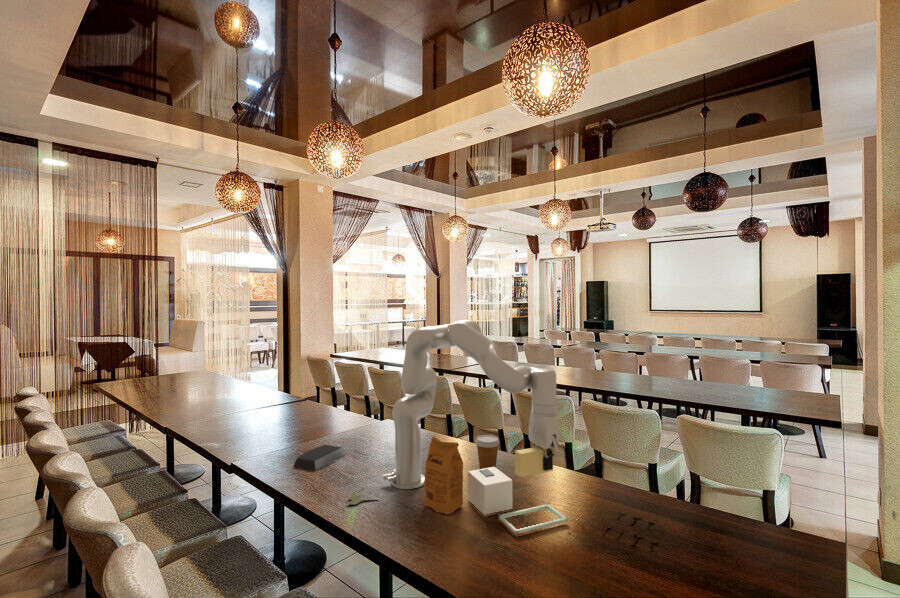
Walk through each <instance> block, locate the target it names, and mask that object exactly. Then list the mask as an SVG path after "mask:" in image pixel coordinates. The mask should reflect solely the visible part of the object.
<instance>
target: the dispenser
mask: <svg viewBox="0 0 900 598" xmlns="http://www.w3.org/2000/svg"><path fill="white" fill-rule="evenodd" d="M468 500H469V501H470V502H471V503H473V504H474V505H475V506H476V507H477V508H478V509H479V510H480V511H481V512H482V513H483V514H484V515H485V514H490V513H494V512H499V511H504V510H509V509H513V479H512V478H510V477H509V476H508V475H507V474H505V473H503V472H502V471H501V470H499V469H498V468H497V467H496V468H495V467H489V468H484V469H480V468H477V469H473V470H468V471H467V501H468ZM469 501H468V502H469ZM470 502H469V503H470ZM471 503H470V504H471Z"/></svg>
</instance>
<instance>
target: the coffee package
mask: <svg viewBox="0 0 900 598" xmlns="http://www.w3.org/2000/svg"><path fill="white" fill-rule="evenodd" d="M459 445H460V444H459V443H458V442H454V441H453V442H452V441H441V440H440V439H438V437H436V436H435V435H434V436H432V437H431V440H430V444H429V447H428V453H427V457H426V461H425V470H424V471H425V472H424V477H425V480H424V485H423V490H424V506H425V507H426V506H428V507H427V508H430V507H431V508H430V509H432V510H433V509H434V510H435V511H438V512H442V513H445V515H447V514H449V515H451V514H453V513H454V512H455V511H456V510H458V509H459V508H461V507H462V506H463V505H464V492H463V486H464V462H463V458H462V456H461V453H460V450H459ZM434 510H433V511H434ZM435 511H434V512H435ZM438 512H437V513H438ZM442 513H441V514H442ZM450 513H451V514H450Z"/></svg>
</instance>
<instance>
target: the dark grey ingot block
mask: <svg viewBox="0 0 900 598" xmlns="http://www.w3.org/2000/svg"><path fill="white" fill-rule="evenodd" d="M344 455H345V456H346V455H347V452H346V450H345V448H344V447H343V446H335V445H330V444H322V445H319V446H317V447H315V448H313V449H309V450H307V451H306V452H304V453H302V454H301V455H299V456H298V457H297V458H296V459H295V461H294V464H293V467H297V468H302V469H306V468H307V470H311V469H313V470H312V471H318V470H317V469H319V468H321V467H323V468H325V467H327V466H329V465H331V464H332V463H331V462H333V461H335V460H337V459H338V460H340V459H342V458H343V457H345V456H344ZM341 457H342V458H341ZM339 458H340V459H339ZM338 460H337V461H338ZM335 462H336V461H335ZM330 463H331V464H330ZM333 463H334V462H333ZM328 464H329V465H328ZM326 465H327V466H326ZM324 466H325V467H324ZM321 469H322V468H321ZM319 470H320V469H319Z"/></svg>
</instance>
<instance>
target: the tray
mask: <svg viewBox="0 0 900 598" xmlns="http://www.w3.org/2000/svg"><path fill="white" fill-rule="evenodd" d="M543 509H545V510H546V509H548V512H552V513H554V515H557V516H558V517H559V518H560V519H559V518H558V519H557V520H555V519H554V520H553V521H549V522H545V523H540V524H536V525H532V526H528V527H524V528H520V529H516V528H515V527H514V526H513V525H512V524H511V523H509V522H508V521H507V520H506V519H505V518H508V517H512V516H517V515H522V514H526V513H530V512H535V511H539V510H543ZM549 510H550V511H549ZM545 512H546V511H545ZM526 515H527V514H526ZM499 519H500V520H502V521H503V522H504V523H505V524H506V525H507V526H508V527H509V528H510V529H511V530H512V531H513V532H514V533H515V534H518V533H523V532H527V531H531V530H535V529H539V528H544V527H548V526H552V525H556V524H560V523H563V522H567V521H568V517H566V515H563V514H562V513H561V512H559V511H558V510H557V509H555V508H554V507H553V506H551V505H550V504H548V503H546V504H542V505H536V506H533V507H529V508H524V509H519V510H515V511H512V512H507V513H503V514H498V520H499Z"/></svg>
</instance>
